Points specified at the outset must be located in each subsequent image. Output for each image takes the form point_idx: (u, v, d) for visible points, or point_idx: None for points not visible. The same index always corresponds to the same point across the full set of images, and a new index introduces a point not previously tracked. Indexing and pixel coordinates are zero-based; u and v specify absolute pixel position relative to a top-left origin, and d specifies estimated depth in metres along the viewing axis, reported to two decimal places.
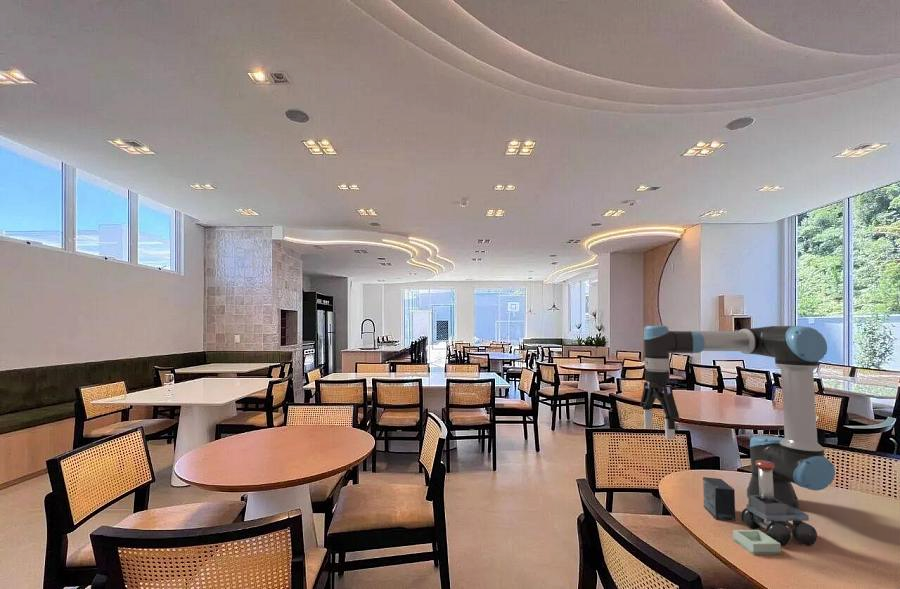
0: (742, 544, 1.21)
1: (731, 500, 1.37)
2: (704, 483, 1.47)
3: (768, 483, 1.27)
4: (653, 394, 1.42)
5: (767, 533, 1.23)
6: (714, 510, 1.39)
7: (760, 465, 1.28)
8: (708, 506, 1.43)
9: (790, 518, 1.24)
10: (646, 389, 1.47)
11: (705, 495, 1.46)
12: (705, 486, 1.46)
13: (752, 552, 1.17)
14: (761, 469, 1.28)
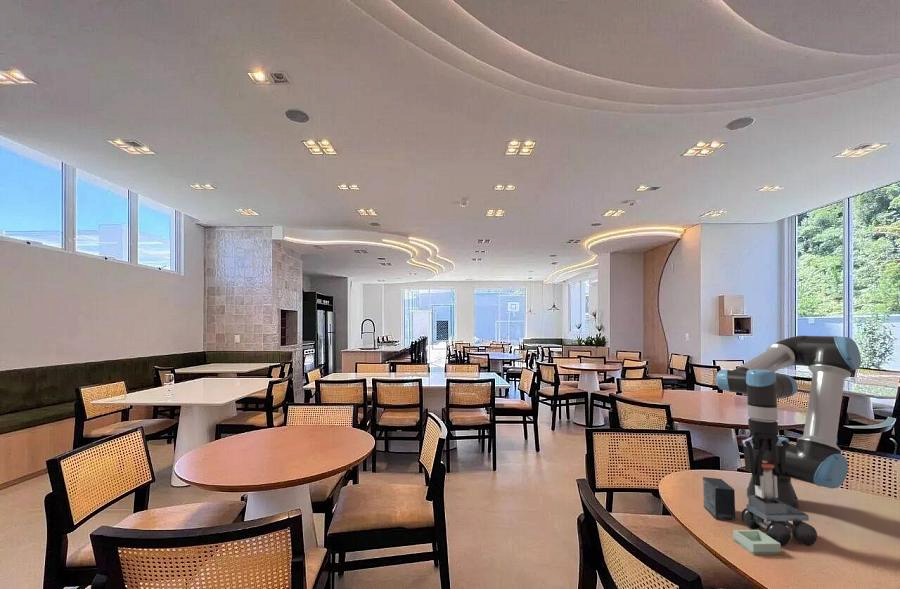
0: (742, 544, 1.21)
1: (731, 500, 1.37)
2: (704, 483, 1.47)
3: (768, 483, 1.27)
4: None
5: (767, 533, 1.23)
6: (714, 510, 1.39)
7: None
8: (708, 506, 1.43)
9: (790, 518, 1.24)
10: (776, 446, 1.30)
11: (705, 495, 1.46)
12: (705, 486, 1.46)
13: (752, 552, 1.17)
14: (761, 469, 1.28)
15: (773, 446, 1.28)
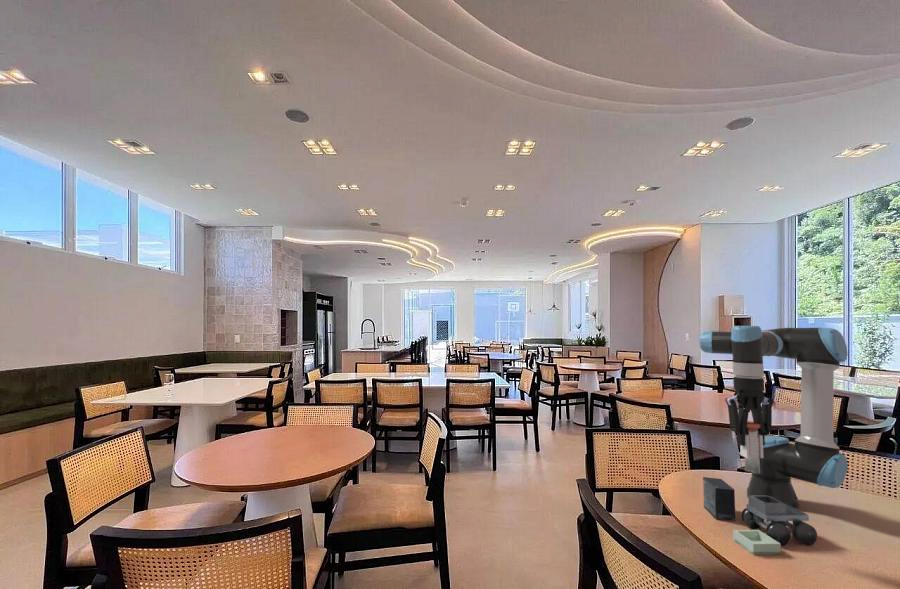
0: (742, 544, 1.21)
1: (731, 500, 1.37)
2: (704, 483, 1.47)
3: (753, 443, 1.21)
4: None
5: (767, 533, 1.23)
6: (714, 510, 1.39)
7: None
8: (708, 506, 1.43)
9: (790, 518, 1.24)
10: (762, 405, 1.25)
11: (705, 495, 1.46)
12: (705, 486, 1.46)
13: (752, 552, 1.17)
14: None
15: (759, 404, 1.22)
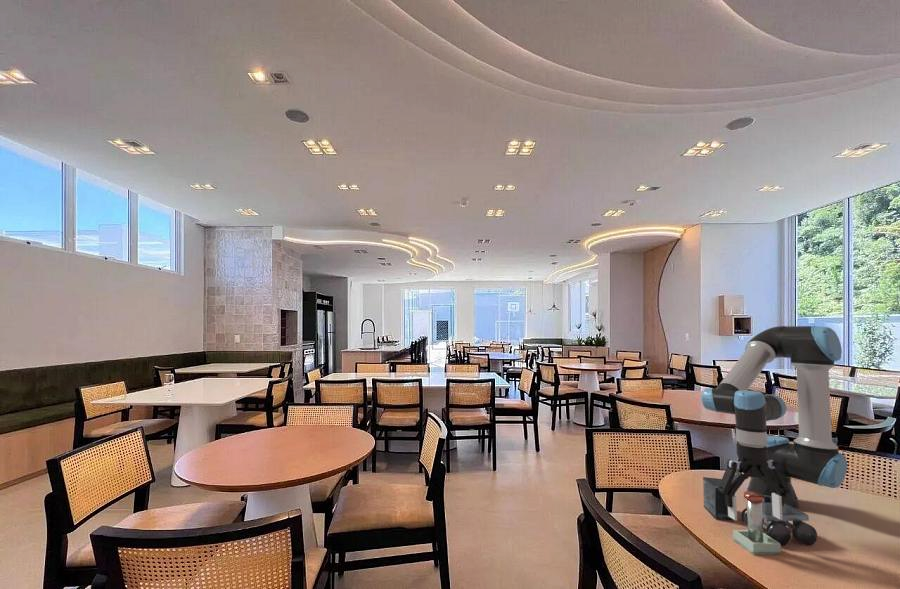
0: (742, 544, 1.21)
1: None
2: (704, 483, 1.47)
3: (757, 517, 1.20)
4: None
5: (767, 533, 1.23)
6: (714, 510, 1.39)
7: (749, 497, 1.21)
8: (708, 506, 1.43)
9: (790, 518, 1.24)
10: (769, 468, 1.23)
11: (705, 495, 1.46)
12: (705, 486, 1.46)
13: (752, 552, 1.17)
14: (749, 502, 1.21)
15: (764, 471, 1.21)
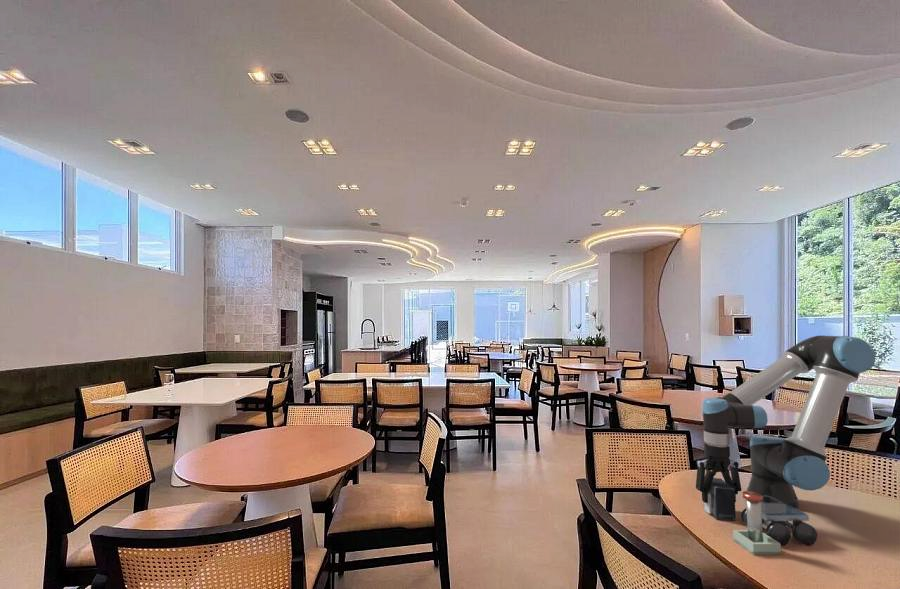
0: (742, 544, 1.21)
1: (731, 499, 1.37)
2: None
3: (756, 516, 1.20)
4: None
5: (767, 533, 1.23)
6: (714, 510, 1.39)
7: (747, 497, 1.21)
8: None
9: (790, 518, 1.24)
10: (730, 467, 1.44)
11: None
12: None
13: (752, 552, 1.17)
14: (748, 501, 1.21)
15: (726, 468, 1.42)
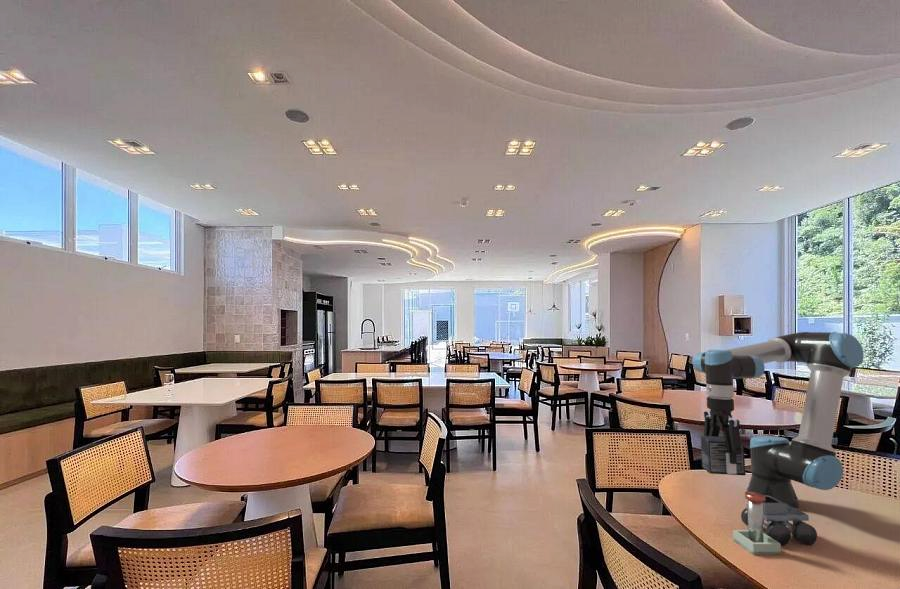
0: (742, 544, 1.21)
1: None
2: (713, 446, 1.32)
3: (757, 517, 1.19)
4: (716, 422, 1.35)
5: (767, 533, 1.23)
6: (741, 467, 1.30)
7: (749, 498, 1.20)
8: None
9: (790, 518, 1.24)
10: (708, 419, 1.40)
11: (716, 459, 1.31)
12: (717, 448, 1.31)
13: (752, 552, 1.17)
14: (750, 502, 1.21)
15: None
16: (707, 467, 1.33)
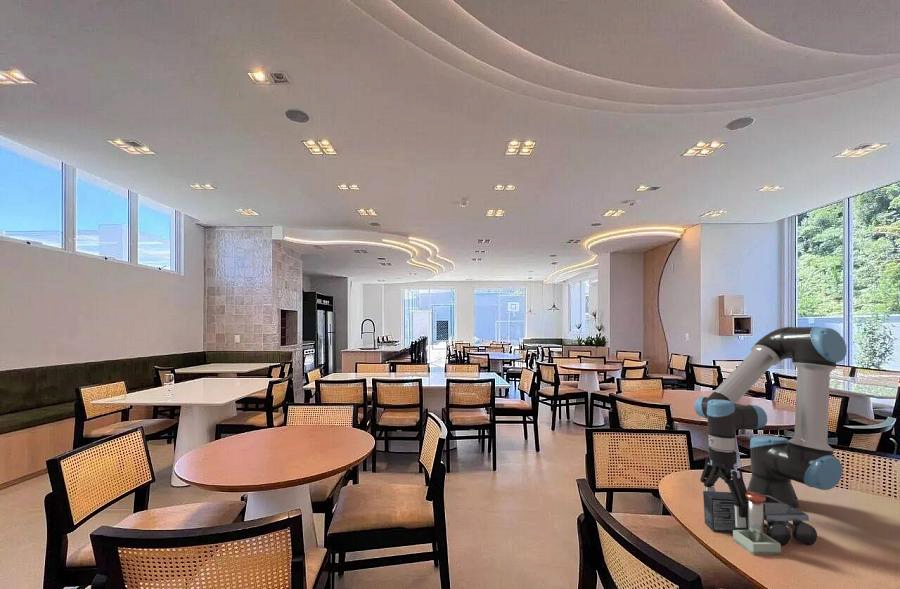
0: (742, 544, 1.21)
1: None
2: (716, 503, 1.30)
3: (757, 517, 1.19)
4: (718, 474, 1.34)
5: (767, 533, 1.23)
6: None
7: (749, 498, 1.20)
8: (730, 526, 1.29)
9: (790, 518, 1.24)
10: (708, 466, 1.39)
11: (719, 516, 1.30)
12: (720, 505, 1.30)
13: (752, 552, 1.17)
14: (750, 502, 1.21)
15: None
16: (710, 525, 1.32)
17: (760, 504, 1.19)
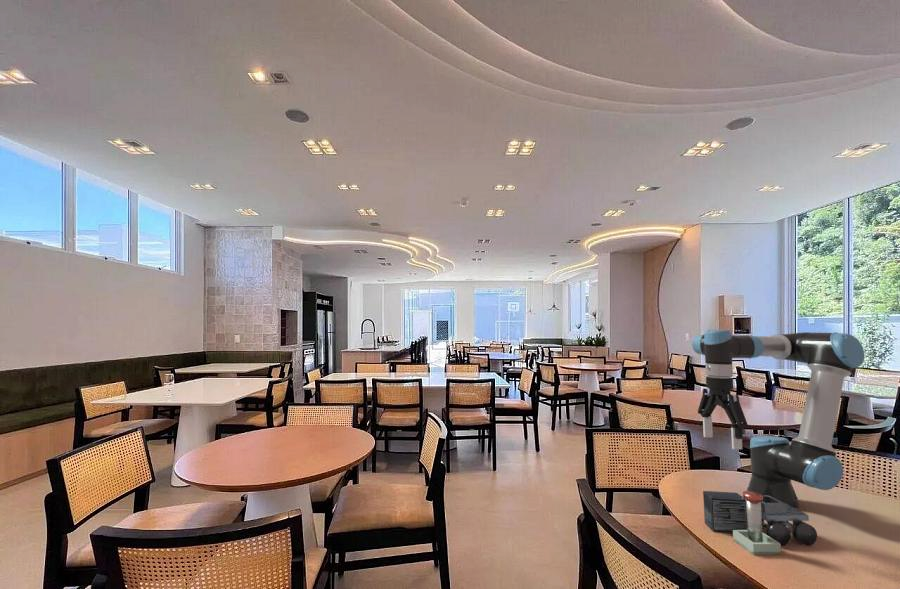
0: (742, 544, 1.21)
1: None
2: (716, 503, 1.30)
3: (756, 516, 1.20)
4: (715, 401, 1.36)
5: (767, 533, 1.23)
6: (744, 525, 1.29)
7: (747, 497, 1.21)
8: (730, 526, 1.29)
9: (790, 518, 1.24)
10: (705, 396, 1.41)
11: (719, 516, 1.30)
12: (720, 505, 1.30)
13: (752, 552, 1.17)
14: (748, 501, 1.21)
15: None
16: (710, 525, 1.32)
17: (758, 503, 1.20)
